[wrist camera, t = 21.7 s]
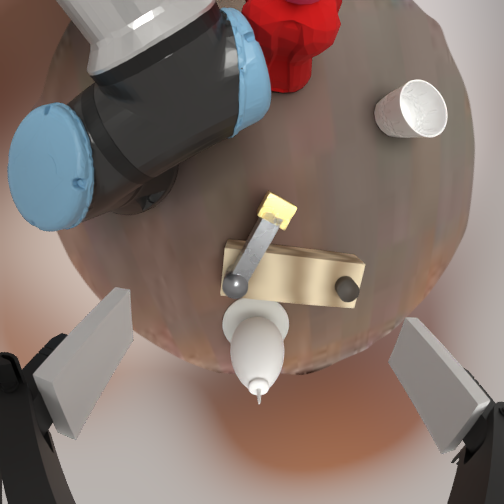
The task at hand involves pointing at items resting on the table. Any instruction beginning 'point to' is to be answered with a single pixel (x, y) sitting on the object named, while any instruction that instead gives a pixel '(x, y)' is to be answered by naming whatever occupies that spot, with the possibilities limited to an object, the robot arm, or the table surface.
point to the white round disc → (254, 315)
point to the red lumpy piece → (292, 36)
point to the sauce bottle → (257, 354)
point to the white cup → (412, 111)
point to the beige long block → (301, 275)
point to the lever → (257, 243)
